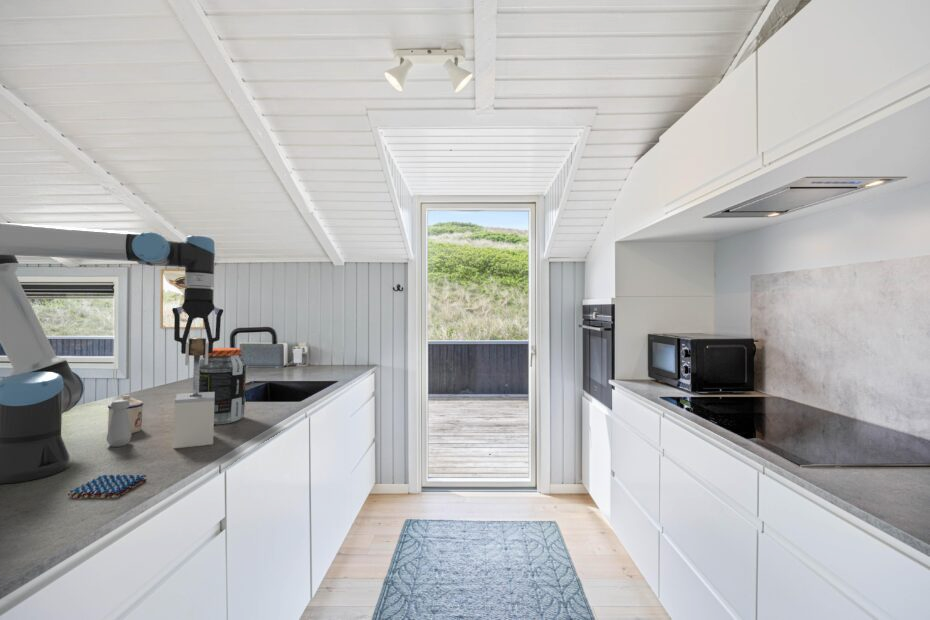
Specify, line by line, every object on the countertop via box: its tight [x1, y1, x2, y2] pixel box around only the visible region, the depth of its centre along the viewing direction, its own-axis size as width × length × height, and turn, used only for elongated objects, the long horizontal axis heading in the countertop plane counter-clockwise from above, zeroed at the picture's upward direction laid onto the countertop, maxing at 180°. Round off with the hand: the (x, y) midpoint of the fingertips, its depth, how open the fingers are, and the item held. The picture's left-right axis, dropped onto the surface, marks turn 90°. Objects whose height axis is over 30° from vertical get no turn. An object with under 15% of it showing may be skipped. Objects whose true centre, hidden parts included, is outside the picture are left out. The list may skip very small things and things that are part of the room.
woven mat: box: [67, 474, 148, 500], centre depth 99 cm, size 10×11×2 cm
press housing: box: [172, 392, 215, 449], centre depth 134 cm, size 10×10×14 cm
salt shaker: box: [106, 399, 132, 448], centre depth 129 cm, size 6×6×13 cm
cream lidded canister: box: [107, 394, 144, 434], centre depth 143 cm, size 12×9×12 cm
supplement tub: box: [199, 347, 247, 425], centre depth 159 cm, size 16×16×26 cm
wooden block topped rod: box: [188, 337, 207, 397], centre depth 134 cm, size 7×7×24 cm
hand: (196, 364), depth 134 cm, fingers closed on wooden block topped rod, 4 cm apart
